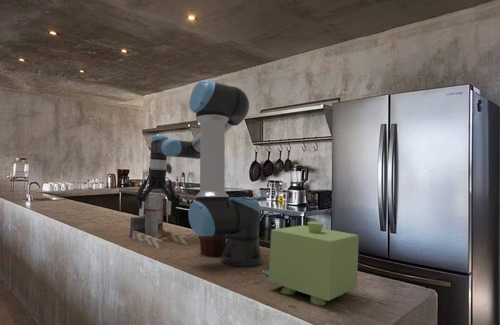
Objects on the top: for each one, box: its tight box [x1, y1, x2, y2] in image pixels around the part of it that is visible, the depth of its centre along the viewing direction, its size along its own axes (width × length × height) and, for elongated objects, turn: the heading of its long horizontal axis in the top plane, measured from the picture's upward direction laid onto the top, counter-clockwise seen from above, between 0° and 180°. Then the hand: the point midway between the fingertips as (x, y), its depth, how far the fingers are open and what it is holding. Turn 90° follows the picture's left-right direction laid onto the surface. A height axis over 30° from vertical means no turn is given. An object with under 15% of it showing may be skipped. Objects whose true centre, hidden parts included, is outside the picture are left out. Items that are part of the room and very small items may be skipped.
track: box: [129, 216, 190, 249], centre depth 154 cm, size 27×14×9 cm, turn 44°
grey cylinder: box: [144, 193, 164, 238], centre depth 157 cm, size 8×8×20 cm
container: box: [268, 220, 360, 306], centre depth 97 cm, size 19×16×20 cm
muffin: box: [198, 234, 227, 257], centre depth 135 cm, size 12×11×10 cm
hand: (155, 215), depth 157 cm, fingers open, 13 cm apart
